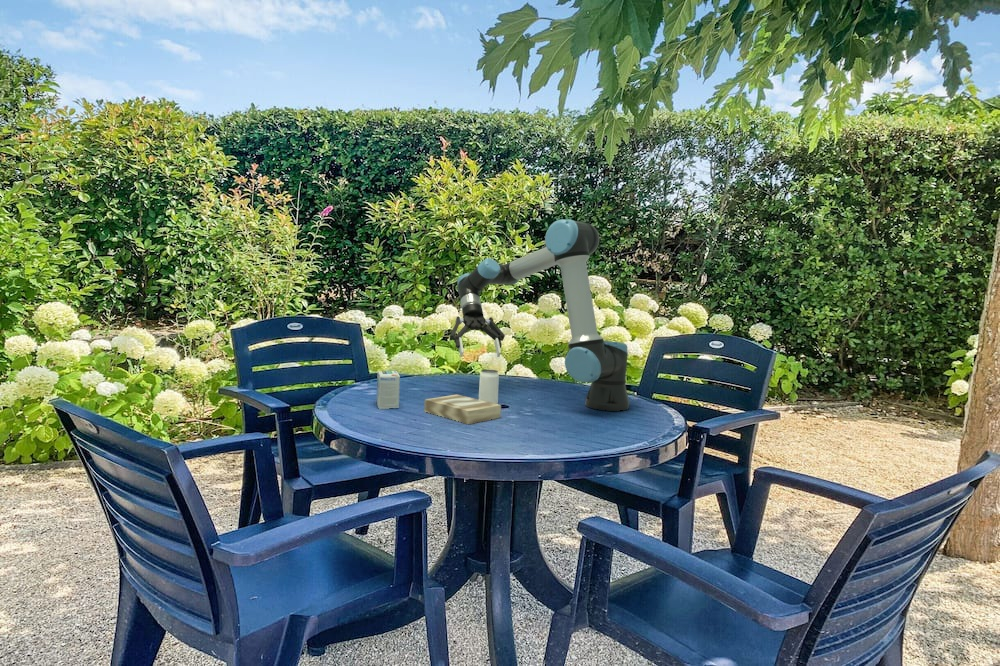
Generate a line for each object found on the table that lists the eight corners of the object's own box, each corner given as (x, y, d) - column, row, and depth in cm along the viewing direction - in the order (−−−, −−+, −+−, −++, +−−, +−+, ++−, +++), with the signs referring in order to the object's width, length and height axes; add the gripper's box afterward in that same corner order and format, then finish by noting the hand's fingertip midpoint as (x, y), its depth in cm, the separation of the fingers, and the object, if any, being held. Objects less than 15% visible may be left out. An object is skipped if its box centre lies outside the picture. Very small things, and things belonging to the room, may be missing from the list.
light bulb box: (376, 402, 204) (376, 370, 203) (396, 402, 205) (397, 370, 204) (378, 409, 193) (379, 376, 192) (399, 409, 195) (400, 376, 194)
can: (476, 403, 207) (477, 369, 206) (494, 403, 209) (496, 369, 208) (481, 408, 201) (482, 372, 200) (499, 407, 203) (501, 372, 202)
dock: (500, 417, 189) (501, 404, 189) (468, 424, 179) (468, 410, 179) (456, 406, 203) (456, 393, 202) (424, 412, 192) (424, 398, 192)
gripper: (501, 316, 233) (511, 360, 221) (437, 314, 226) (444, 360, 213) (506, 303, 228) (516, 348, 215) (440, 301, 220) (448, 347, 208)
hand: (480, 354), depth 214 cm, fingers open, 13 cm apart
